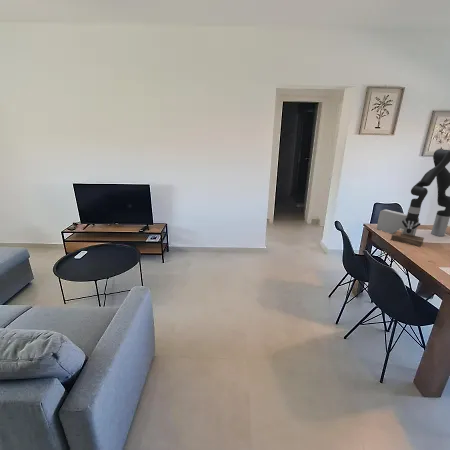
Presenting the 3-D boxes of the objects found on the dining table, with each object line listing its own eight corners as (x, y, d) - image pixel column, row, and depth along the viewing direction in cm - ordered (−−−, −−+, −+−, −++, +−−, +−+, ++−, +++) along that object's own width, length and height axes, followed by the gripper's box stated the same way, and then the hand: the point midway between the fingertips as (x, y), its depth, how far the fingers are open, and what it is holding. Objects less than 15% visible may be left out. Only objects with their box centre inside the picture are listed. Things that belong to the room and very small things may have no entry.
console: (394, 235, 231) (395, 231, 230) (422, 242, 219) (424, 237, 218) (390, 239, 222) (392, 235, 221) (420, 246, 210) (421, 241, 209)
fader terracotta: (396, 234, 223) (397, 230, 222) (401, 235, 221) (402, 231, 220) (396, 235, 221) (397, 231, 220) (400, 236, 219) (401, 231, 218)
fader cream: (399, 232, 227) (400, 228, 226) (403, 233, 225) (404, 229, 224) (398, 233, 225) (399, 229, 224) (402, 234, 223) (403, 230, 222)
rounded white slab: (415, 237, 229) (421, 216, 223) (411, 239, 225) (417, 218, 219) (380, 227, 251) (384, 208, 245) (376, 229, 246) (380, 209, 240)
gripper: (424, 213, 214) (418, 233, 220) (404, 209, 222) (399, 229, 228) (423, 215, 209) (417, 236, 215) (403, 211, 217) (398, 232, 223)
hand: (408, 233), depth 221 cm, fingers closed
